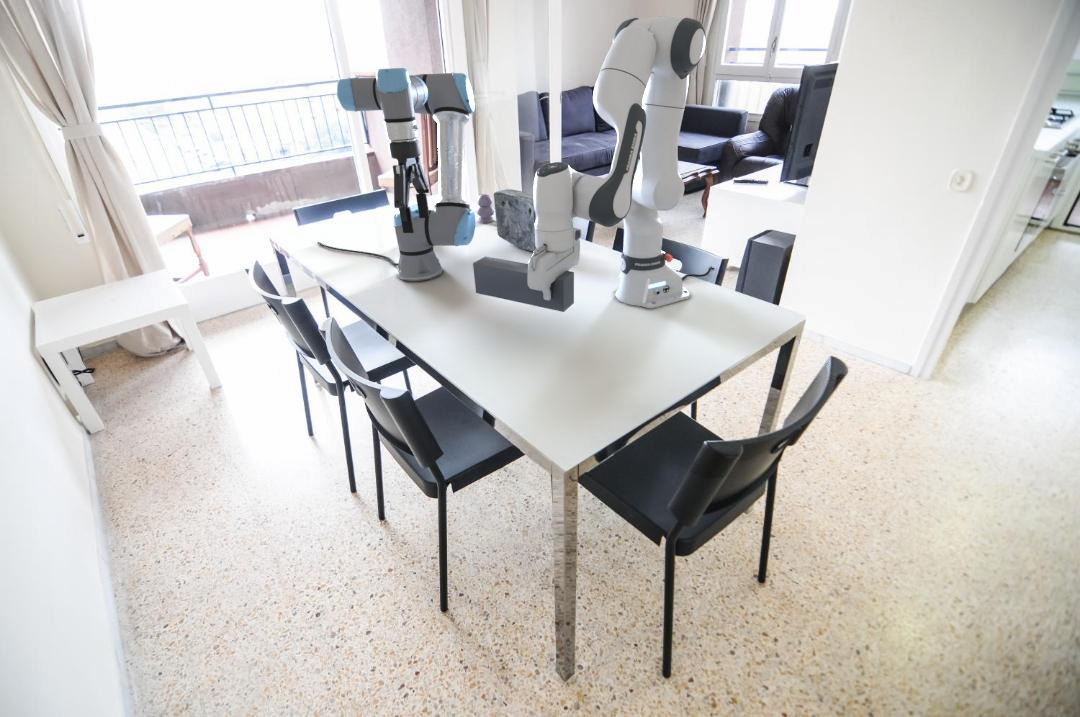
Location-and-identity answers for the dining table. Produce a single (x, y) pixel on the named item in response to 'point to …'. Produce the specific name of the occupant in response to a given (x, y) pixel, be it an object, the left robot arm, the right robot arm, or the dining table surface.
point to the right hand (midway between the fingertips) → (555, 293)
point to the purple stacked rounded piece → (485, 208)
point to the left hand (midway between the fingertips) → (417, 225)
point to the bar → (520, 284)
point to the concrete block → (516, 218)
